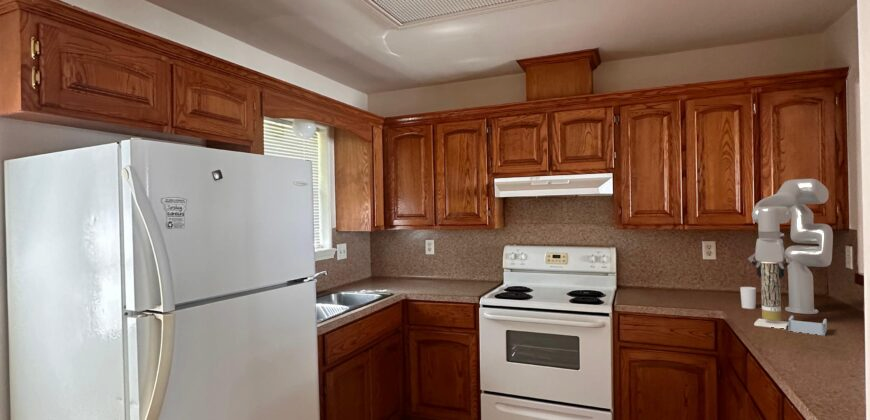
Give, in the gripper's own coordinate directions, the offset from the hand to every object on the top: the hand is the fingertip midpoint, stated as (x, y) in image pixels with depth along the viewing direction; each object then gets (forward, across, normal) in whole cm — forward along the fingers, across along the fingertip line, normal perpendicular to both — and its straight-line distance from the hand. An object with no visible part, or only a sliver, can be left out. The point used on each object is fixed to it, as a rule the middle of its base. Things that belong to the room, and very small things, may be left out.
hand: (770, 276), depth 206 cm
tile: (+21, 0, 0) cm, 21 cm away
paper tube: (+18, 0, 0) cm, 18 cm away
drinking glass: (+21, +14, -35) cm, 43 cm away
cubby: (+21, -12, +3) cm, 24 cm away
